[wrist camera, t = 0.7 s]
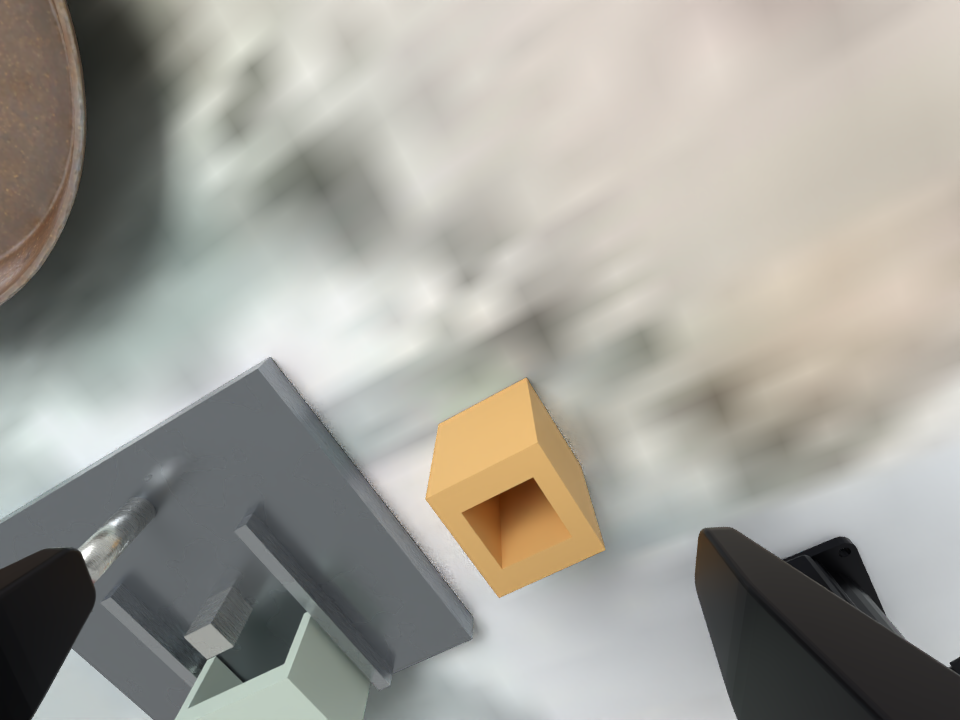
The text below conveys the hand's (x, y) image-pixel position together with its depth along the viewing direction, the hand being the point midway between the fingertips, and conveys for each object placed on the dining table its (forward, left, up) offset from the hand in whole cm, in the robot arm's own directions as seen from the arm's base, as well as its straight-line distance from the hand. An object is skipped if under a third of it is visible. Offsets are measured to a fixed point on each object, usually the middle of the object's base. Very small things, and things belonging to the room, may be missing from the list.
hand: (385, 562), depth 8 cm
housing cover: (-10, +15, -12) cm, 22 cm away
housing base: (-6, +15, -13) cm, 21 cm away
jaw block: (-6, +1, -13) cm, 14 cm away
